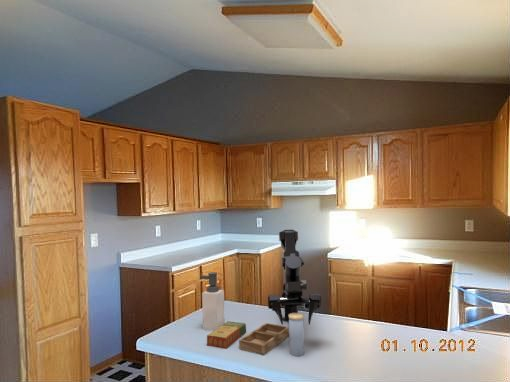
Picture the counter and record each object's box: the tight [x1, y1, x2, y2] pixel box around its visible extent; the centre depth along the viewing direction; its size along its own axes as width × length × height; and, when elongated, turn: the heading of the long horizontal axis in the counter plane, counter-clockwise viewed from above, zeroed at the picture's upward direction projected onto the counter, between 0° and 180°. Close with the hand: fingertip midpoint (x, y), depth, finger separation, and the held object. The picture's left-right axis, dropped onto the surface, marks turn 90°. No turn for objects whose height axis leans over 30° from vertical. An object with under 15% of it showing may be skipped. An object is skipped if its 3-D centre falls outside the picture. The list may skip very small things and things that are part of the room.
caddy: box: [238, 322, 289, 356], centre depth 135 cm, size 19×10×3 cm, turn 149°
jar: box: [288, 312, 305, 357], centre depth 125 cm, size 5×5×13 cm
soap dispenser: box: [199, 271, 226, 331], centre depth 151 cm, size 6×9×22 cm
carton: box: [206, 320, 247, 350], centre depth 139 cm, size 8×16×4 cm, turn 156°
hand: (295, 324), depth 127 cm, fingers open, 9 cm apart
